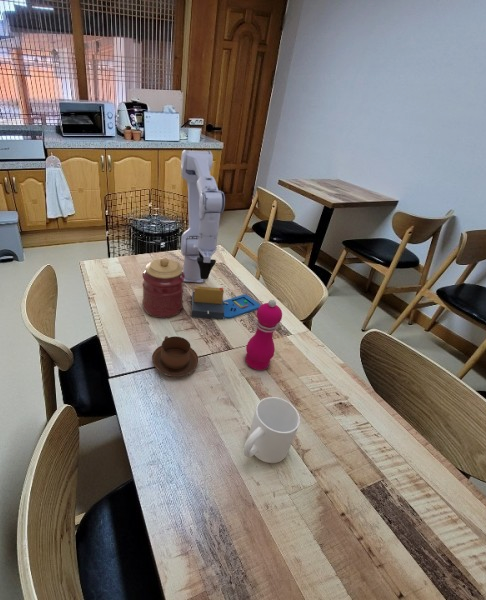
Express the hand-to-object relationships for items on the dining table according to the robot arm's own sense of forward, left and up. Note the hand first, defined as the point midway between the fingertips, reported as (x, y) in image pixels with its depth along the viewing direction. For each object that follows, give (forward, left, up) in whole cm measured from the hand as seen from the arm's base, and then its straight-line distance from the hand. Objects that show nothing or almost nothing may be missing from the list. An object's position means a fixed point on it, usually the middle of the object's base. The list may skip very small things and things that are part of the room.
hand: (203, 272), depth 109 cm
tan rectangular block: (+5, +2, -8) cm, 9 cm away
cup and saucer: (+31, -7, -11) cm, 34 cm away
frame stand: (+5, +2, -10) cm, 12 cm away
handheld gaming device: (+3, +12, -11) cm, 16 cm away
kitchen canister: (+6, -13, -11) cm, 17 cm away
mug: (+54, +12, -11) cm, 57 cm away
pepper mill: (+28, +15, -11) cm, 34 cm away
